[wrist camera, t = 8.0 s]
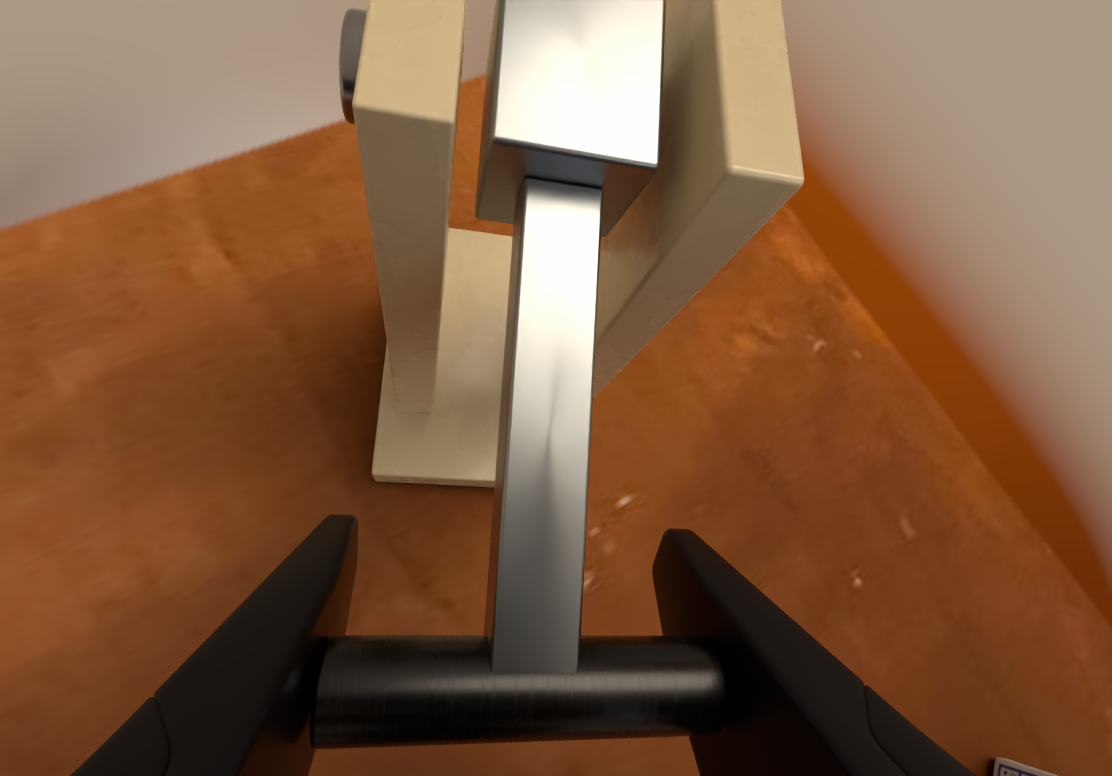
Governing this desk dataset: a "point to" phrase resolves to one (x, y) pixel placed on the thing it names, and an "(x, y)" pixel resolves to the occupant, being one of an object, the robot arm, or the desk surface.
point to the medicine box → (1016, 769)
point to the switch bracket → (484, 259)
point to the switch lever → (542, 421)
